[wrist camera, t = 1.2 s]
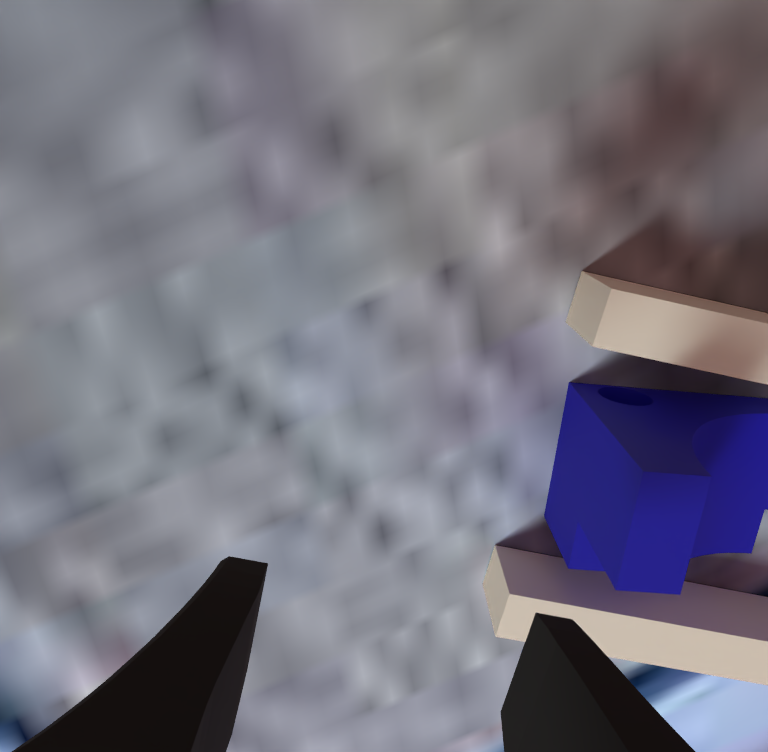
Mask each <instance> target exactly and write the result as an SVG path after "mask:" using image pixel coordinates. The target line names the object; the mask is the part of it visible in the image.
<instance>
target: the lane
mask: <svg viewBox="0 0 768 752" xmlns="http://www.w3.org/2000/svg"><path fill="white" fill-rule="evenodd" d="M566 323H567V324H568V325H569V326H570V327H571V328H572V329H574V330H575V331H576V332H577V333H578V334H579V335H580V336H581V337H582V338H583V339H585V340H586V341H587V342H588V343H589V344H590V345H591V346H592V347H597V348H602V349H606V350H611V351H615V352H620V353H625V354H629V355H634V356H638V357H643V358H648V359H652V360H657V361H661V362H666V363H671V364H675V365H680V366H684V367H689V368H694V369H698V370H703V371H707V372H712V373H717V374H721V375H726V376H730V377H735V378H740V379H744V380H749V381H753V382H758V383H763V384H767V385H768V313H765V312H760V311H756V310H751V309H747V308H743V307H738V306H734V305H729V304H725V303H720V302H716V301H712V300H707V299H703V298H698V297H694V296H690V295H685V294H681V293H676V292H672V291H668V290H663V289H659V288H654V287H650V286H645V285H641V284H637V283H632V282H628V281H623V280H619V279H615V278H610V277H606V276H601V275H597V274H592V273H588V272H584V271H582V272H581V275H580V278H579V281H578V285H577V288H576V291H575V294H574V297H573V300H572V304H571V307H570V310H569V313H568V316H567V319H566ZM483 588H484V592H485V596H486V600H487V604H488V608H489V612H490V616H491V620H492V624H493V629H494V633H495V637H501V638H507V639H512V640H518V641H523V642H525V641H526V639H527V636H528V633H529V630H530V627H531V624H532V622H533V619H534V616H535V613H541V614H547V615H552V616H557V617H563V618H568V619H572V620H574V621H575V622H576V623H577V624H578V625H579V626H580V627H581V628H582V630H583V631H584V632H585V633H586V634H587V635H588V636H589V637H590V638H591V639H592V640H593V641H594V642H595V643H596V645H597V646H598V647H599V648H600V649H601V650H602V651H603V652H604V653H605V654H606V656H607V657H613V658H618V659H624V660H629V661H635V662H641V663H646V664H652V665H657V666H663V667H668V668H674V669H680V670H685V671H691V672H696V673H702V674H708V675H713V676H719V677H724V678H730V679H735V680H741V681H747V682H752V683H758V684H763V685H768V597H765V596H759V595H754V594H749V593H744V592H738V591H733V590H728V589H723V588H717V587H712V586H707V585H702V584H696V583H691V582H686V581H684V583H683V586H682V590H681V594H680V595H676V594H662V593H647V592H633V591H618V590H615V588H614V587H613V585H612V583H611V581H610V579H609V577H608V575H607V574H606V572H605V571H591V570H577V569H568V567H567V565H566V563H565V561H564V558H560V557H555V556H549V555H544V554H539V553H534V552H528V551H523V550H518V549H513V548H507V547H502V546H497V545H495V547H494V550H493V553H492V556H491V559H490V562H489V565H488V569H487V572H486V575H485V578H484V581H483Z"/></svg>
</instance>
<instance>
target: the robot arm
mask: <svg viewBox="0 0 768 752" xmlns="http://www.w3.org/2000/svg"><path fill="white" fill-rule="evenodd" d="M267 566H268V563H262V562H257V561H251V560H246V559H241V558H235V557H230V556H229V557H227V558H226V559H224V560H222V561H221V562H220V563H219V564H218V566H217V567H216V569H215V570H214V572H213V573H212V574H211V575H210V577H209V578H208V579H207V580H206V582H205V583H204V584H203V585H202V586H201V588H200V589H199V590H198V591H197V592H196V593H195V595H194V596H193V597H192V598H191V599H190V600H189V601H188V602H187V603H186V605H185V606H184V607H183V608H182V609H181V610H180V611H179V612H178V613H177V614H176V615H175V616H174V617H173V618H172V619H171V620H170V621H169V622H168V623H167V624H166V625H165V626H164V627H163V628H162V629H161V630H160V631H159V632H158V633H157V634H156V636H155V637H153V638H152V639H151V640H150V641H149V642H148V643H147V644H146V645H145V646H144V647H143V648H142V649H141V650H140V651H138V652H137V653H136V654H135V655H134V656H133V657H132V658H131V659H130V660H128V661H127V662H126V663H125V664H124V665H123V666H122V667H121V668H120V669H119V670H117V671H116V672H115V673H114V674H113V675H112V676H111V677H110V678H108V679H107V680H106V681H105V682H104V683H103V684H101V685H100V686H99V687H98V688H97V689H95V690H94V691H93V692H92V693H90V694H89V695H88V696H87V697H86V698H84V699H83V700H82V701H81V702H79V703H78V704H77V705H75V706H74V707H73V708H72V709H70V710H69V711H68V712H66V713H65V714H64V715H62V716H61V717H60V718H58V719H57V720H56V721H54V722H53V723H52V724H51V725H49V726H48V727H46V728H45V729H44V730H42V731H41V732H40V733H38V734H37V735H35V736H34V737H32V738H31V739H29V740H28V741H27V742H25V743H24V744H22V745H21V746H19V747H18V748H16V749H15V750H14V751H12V752H226V750H227V747H228V744H229V741H230V738H231V735H232V731H233V727H234V723H235V719H236V715H237V710H238V706H239V702H240V698H241V693H242V689H243V685H244V681H245V676H246V672H247V668H248V663H249V658H250V653H251V647H252V642H253V637H254V632H255V627H256V622H257V617H258V612H259V607H260V602H261V596H262V591H263V586H264V581H265V576H266V571H267ZM501 720H502V731H503V742H504V752H695V751H694V750H693V749H692V748H691V747H690V746H689V745H688V744H687V743H686V742H685V741H684V739H683V738H682V737H681V736H680V735H679V734H678V733H677V732H676V731H675V730H674V729H673V728H672V727H671V726H670V725H669V724H668V723H667V722H666V721H665V720H664V718H663V717H662V716H661V715H660V714H659V713H658V712H657V711H656V710H655V709H654V708H653V707H652V705H651V704H650V703H649V702H648V701H647V700H646V699H645V698H644V697H643V696H642V695H641V693H640V692H639V691H638V690H637V689H636V688H635V687H634V686H633V685H632V684H631V682H630V681H629V680H628V679H627V678H626V677H625V676H624V675H623V673H622V672H621V671H620V670H619V669H618V668H617V667H616V666H615V665H614V663H613V662H612V661H611V660H610V659H609V658H608V657H607V656H606V654H605V653H604V652H603V651H602V650H601V649H600V648H599V647H598V646H597V645H596V643H595V642H594V641H593V640H592V639H591V638H590V637H589V636H588V635H587V634H586V633H585V632H584V631H583V630H582V628H581V627H580V626H579V625H578V624H577V623H576V622H575V621H574V620H572V619H568V618H563V617H557V616H552V615H547V614H541V613H535V616H534V619H533V622H532V624H531V627H530V630H529V633H528V636H527V639H526V641H525V644H524V647H523V650H522V653H521V656H520V659H519V661H518V664H517V667H516V670H515V673H514V676H513V678H512V681H511V684H510V687H509V690H508V693H507V696H506V698H505V701H504V704H503V707H502V710H501Z"/></svg>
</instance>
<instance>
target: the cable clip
mask: <svg viewBox="0 0 768 752" xmlns="http://www.w3.org/2000/svg"><path fill="white" fill-rule="evenodd" d="M765 509H767V510H768V398H757V397H745V396H732V395H720V394H708V393H695V392H683V391H671V390H658V389H646V388H634V387H621V386H609V385H597V384H584V383H572V382H569V385H568V391H567V396H566V401H565V407H564V412H563V418H562V423H561V428H560V434H559V439H558V444H557V450H556V455H555V461H554V466H553V471H552V477H551V482H550V488H549V493H548V498H547V504H546V509H545V514H544V517H545V519H546V521H547V524H548V526H549V528H550V530H551V532H552V535H553V537H554V539H555V541H556V543H557V545H558V548H559V550H560V552H561V554H562V556H563V558H564V561H565V563H566V565H567V567H568V569H577V570H591V571H605V572H606V574H607V575H608V577H609V579H610V581H611V583H612V585H613V587H614V588H615V590H618V591H633V592H647V593H662V594H676V595H680V594H681V590H682V586H683V583H684V579H685V575H686V572H687V568H688V564H689V560H690V558H694V557H698V556H702V555H709V554H716V553H752V549H753V546H754V543H755V539H756V536H757V533H758V529H759V526H760V523H761V519H762V516H763V513H764V510H765Z"/></svg>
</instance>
